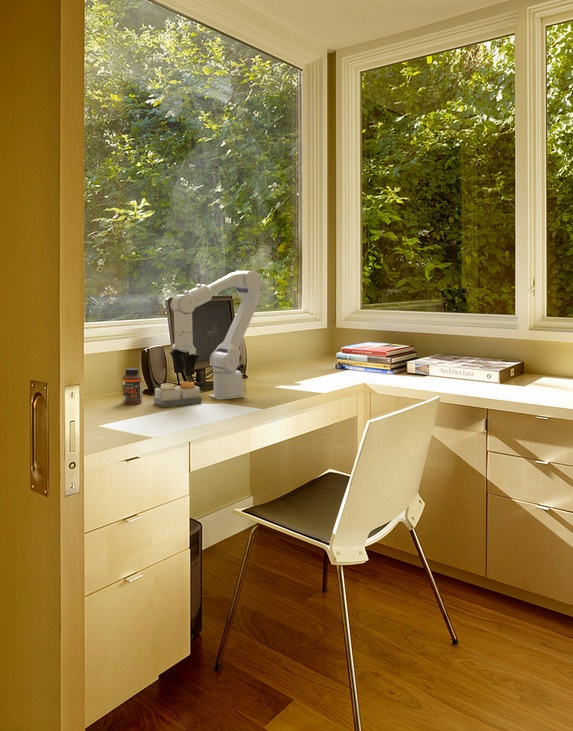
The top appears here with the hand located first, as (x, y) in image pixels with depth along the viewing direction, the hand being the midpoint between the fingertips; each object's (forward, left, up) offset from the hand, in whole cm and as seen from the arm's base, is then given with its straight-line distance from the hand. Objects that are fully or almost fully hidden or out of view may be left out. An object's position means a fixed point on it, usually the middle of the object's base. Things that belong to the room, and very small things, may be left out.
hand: (184, 374), depth 201 cm
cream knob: (+6, 0, -5) cm, 8 cm away
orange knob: (-1, 0, -5) cm, 5 cm away
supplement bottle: (+15, -7, -10) cm, 19 cm away
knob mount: (+3, 0, -9) cm, 10 cm away
